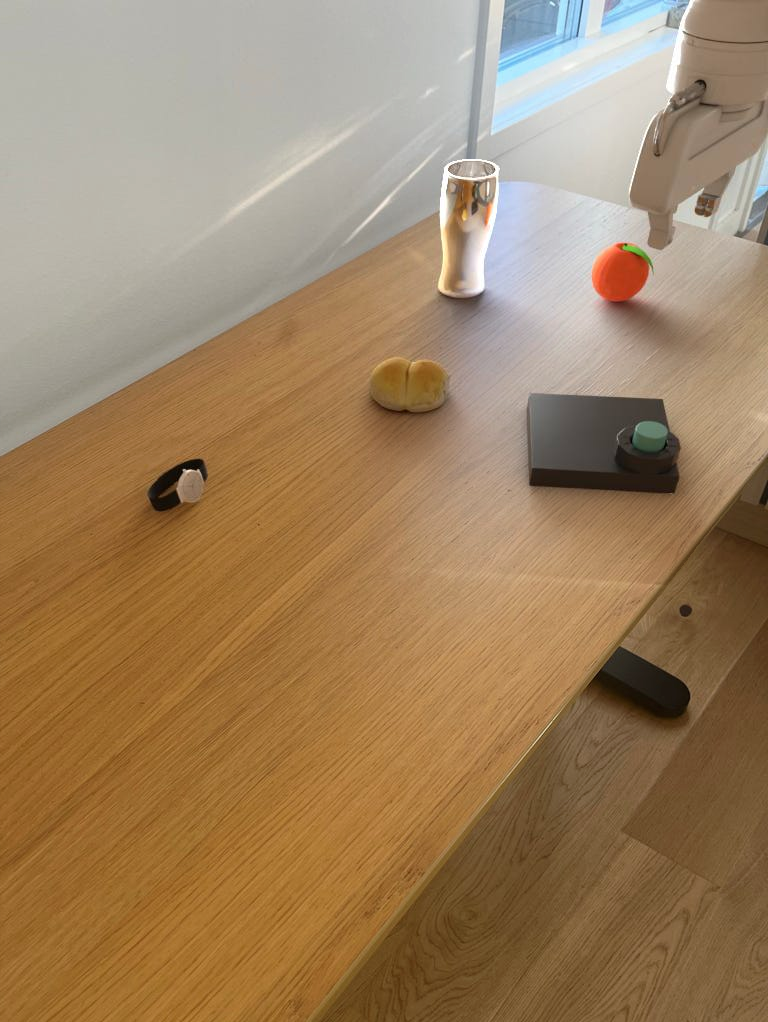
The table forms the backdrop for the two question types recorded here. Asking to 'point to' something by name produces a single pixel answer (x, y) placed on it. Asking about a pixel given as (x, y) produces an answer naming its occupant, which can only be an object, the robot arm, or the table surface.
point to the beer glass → (466, 225)
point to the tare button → (650, 436)
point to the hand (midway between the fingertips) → (682, 229)
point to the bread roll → (409, 384)
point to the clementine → (620, 271)
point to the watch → (179, 485)
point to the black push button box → (597, 444)
